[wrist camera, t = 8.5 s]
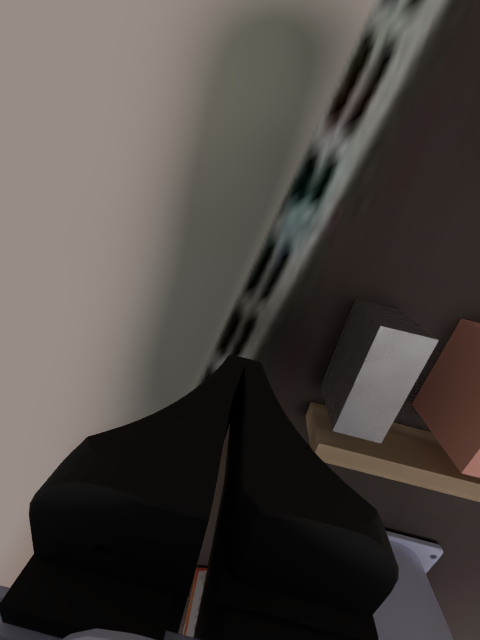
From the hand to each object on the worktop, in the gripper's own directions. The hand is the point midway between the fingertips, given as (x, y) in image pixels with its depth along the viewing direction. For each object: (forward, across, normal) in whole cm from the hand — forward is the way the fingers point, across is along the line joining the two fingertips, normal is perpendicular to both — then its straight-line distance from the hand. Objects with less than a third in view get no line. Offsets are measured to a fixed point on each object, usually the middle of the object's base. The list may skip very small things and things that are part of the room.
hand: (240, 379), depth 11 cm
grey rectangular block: (+6, -7, 0) cm, 9 cm away
